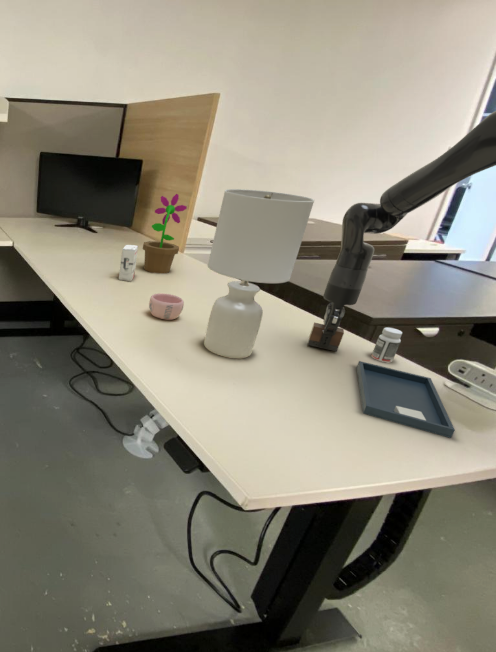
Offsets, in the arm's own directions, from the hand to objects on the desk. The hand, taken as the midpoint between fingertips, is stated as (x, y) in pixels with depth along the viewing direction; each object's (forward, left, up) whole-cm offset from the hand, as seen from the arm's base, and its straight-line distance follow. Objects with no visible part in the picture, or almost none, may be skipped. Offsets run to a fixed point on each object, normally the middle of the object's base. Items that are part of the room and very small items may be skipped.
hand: (323, 343), depth 127 cm
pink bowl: (+43, +4, -2) cm, 43 cm away
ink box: (+66, -27, -2) cm, 71 cm away
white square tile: (-16, +31, -1) cm, 35 cm away
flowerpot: (+60, -47, -2) cm, 76 cm away
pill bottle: (-14, -3, -2) cm, 15 cm away
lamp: (+22, +18, -2) cm, 28 cm away
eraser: (0, 0, -1) cm, 1 cm away
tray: (-15, +21, -1) cm, 26 cm away
